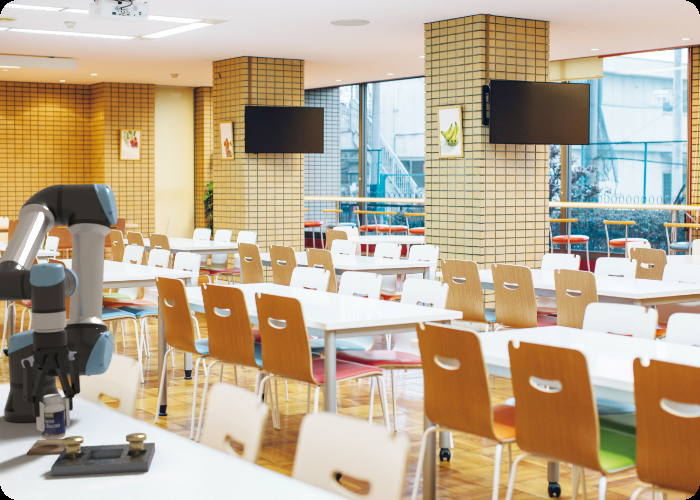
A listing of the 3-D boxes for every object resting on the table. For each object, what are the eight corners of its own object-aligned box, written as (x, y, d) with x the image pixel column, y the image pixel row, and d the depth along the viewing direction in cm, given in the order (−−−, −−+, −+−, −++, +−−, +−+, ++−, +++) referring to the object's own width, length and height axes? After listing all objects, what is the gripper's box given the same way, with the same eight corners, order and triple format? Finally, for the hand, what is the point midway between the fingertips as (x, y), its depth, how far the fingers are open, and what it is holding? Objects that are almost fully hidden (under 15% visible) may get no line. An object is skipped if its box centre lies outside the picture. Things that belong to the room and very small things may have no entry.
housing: (65, 455, 191) (65, 447, 191) (155, 451, 193) (154, 442, 193) (51, 476, 177) (51, 467, 177) (148, 471, 179) (147, 461, 179)
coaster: (37, 442, 202) (37, 439, 201) (80, 440, 203) (80, 437, 203) (26, 455, 192) (26, 452, 192) (72, 452, 193) (71, 450, 193)
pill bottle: (42, 441, 193) (40, 399, 193) (40, 435, 198) (39, 394, 198) (66, 438, 195) (65, 397, 195) (64, 432, 200) (63, 392, 200)
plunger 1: (65, 453, 186) (64, 436, 186) (85, 452, 186) (85, 435, 186) (61, 459, 182) (60, 442, 181) (81, 458, 182) (81, 441, 182)
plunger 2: (128, 450, 188) (127, 433, 187) (148, 449, 188) (147, 432, 188) (125, 456, 183) (124, 439, 183) (145, 455, 184) (145, 438, 184)
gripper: (80, 323, 204) (83, 417, 206) (3, 332, 192) (7, 432, 193) (94, 326, 199) (97, 422, 200) (15, 336, 186) (20, 438, 188)
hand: (53, 427), depth 197 cm, fingers closed on pill bottle, 5 cm apart
